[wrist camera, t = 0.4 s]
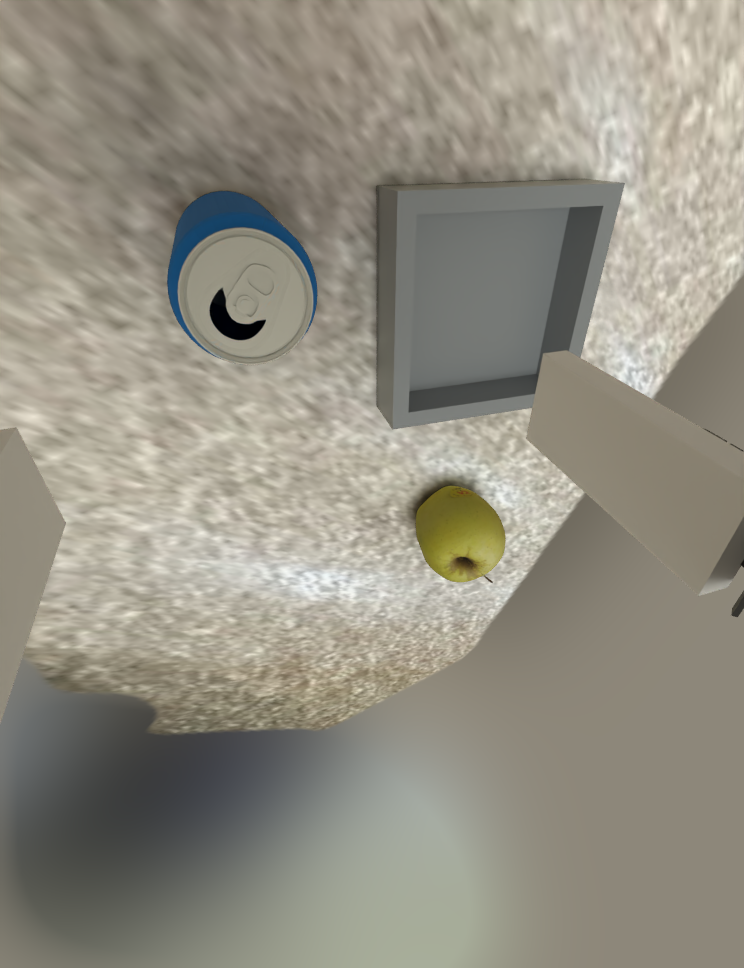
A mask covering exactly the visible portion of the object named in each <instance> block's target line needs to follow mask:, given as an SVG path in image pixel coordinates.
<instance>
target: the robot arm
mask: <svg viewBox="0 0 744 968" xmlns="http://www.w3.org/2000/svg"><path fill="white" fill-rule="evenodd" d="M526 439H527V440H528V441H529V442H530V443H532V444H533V445H534V446H535V447H536V448H537V449H538V450H539V451H540V452H541V453H543V454H544V455H545V456H546V457H547V458H548V459H549V460H550V461H551V462H552V463H553V464H555V465H556V466H557V467H558V468H559V469H560V470H561V471H562V472H563V473H564V474H566V475H567V476H568V477H569V478H570V479H571V480H572V481H573V482H574V483H575V484H577V485H578V486H579V487H580V488H581V489H582V490H583V491H584V492H585V493H586V494H587V495H589V496H590V497H591V498H592V499H593V500H594V501H595V502H596V503H597V504H598V505H600V506H601V507H602V508H603V509H604V510H605V511H606V512H607V513H609V515H611V516H612V517H613V518H614V519H615V520H616V521H617V522H618V523H619V524H620V525H622V526H623V527H624V528H625V529H626V530H627V531H628V532H629V533H630V534H631V535H632V536H634V537H635V538H636V539H637V540H638V541H639V542H640V543H641V544H642V545H643V546H644V547H646V548H647V549H648V550H649V551H650V552H651V553H652V554H653V555H654V556H655V557H656V558H658V559H659V560H660V561H661V562H662V563H663V564H664V565H665V566H666V567H668V568H669V569H670V570H671V571H672V572H673V573H674V574H675V575H676V576H677V577H678V578H680V579H681V580H682V581H683V582H684V583H685V584H686V585H687V586H688V587H689V588H691V589H692V590H693V591H694V592H695V593H696V594H697V595H698V596H699V595H703V594H706V593H710V592H713V591H716V590H720V589H723V588H727V587H728V586H729V585H730V583H731V581H732V580H733V578H734V576H735V575H736V573H737V571H738V570H739V568H740V567H741V566H743V567H744V452H743V450H741V449H740V448H738V447H736V446H734V445H733V444H729V443H727V441H726V440H723V439H722V438H720V437H719V436H717V435H715V434H713V433H712V432H710V431H708V430H706V429H703V428H701V427H699V426H697V425H696V424H694V423H692V422H691V421H689V420H687V419H685V418H684V417H682V416H680V415H678V414H677V413H675V412H673V411H671V410H670V409H668V408H666V407H665V406H663V405H661V404H659V403H658V402H656V401H654V400H652V399H651V398H649V397H647V396H645V395H644V394H642V393H640V392H639V391H637V390H635V389H633V388H632V387H630V386H628V385H626V384H625V383H623V382H621V381H619V380H618V379H616V378H614V377H613V376H611V375H609V374H607V373H606V372H604V371H602V370H600V369H599V368H597V367H595V366H593V365H592V364H590V363H588V362H587V361H585V360H583V359H581V358H580V357H578V356H576V355H574V354H573V353H571V352H569V351H567V350H565V351H558V352H551V353H543V357H542V362H541V367H540V372H539V377H538V382H537V387H536V392H535V397H534V402H533V407H532V412H531V417H530V422H529V427H528V432H527V437H526ZM65 524H66V522H65V520H64V518H63V516H62V514H61V513H60V511H59V509H58V507H57V505H56V503H55V501H54V499H53V497H52V495H51V493H50V491H49V489H48V487H47V485H46V484H45V482H44V480H43V478H42V476H41V474H40V472H39V470H38V468H37V466H36V464H35V462H34V460H33V458H32V456H31V455H30V453H29V451H28V449H27V447H26V445H25V443H24V441H23V439H22V437H21V435H20V433H19V431H18V429H17V428H10V429H2V430H0V723H1V720H2V717H3V714H4V711H5V708H6V705H7V702H8V699H9V696H10V693H11V690H12V686H13V684H14V680H15V677H16V674H17V671H18V668H19V665H20V662H21V659H22V656H23V653H24V650H25V647H26V644H27V641H28V638H29V635H30V632H31V628H32V625H33V622H34V619H35V616H36V613H37V610H38V607H39V604H40V601H41V598H42V595H43V592H44V589H45V586H46V583H47V580H48V576H49V573H50V570H51V567H52V564H53V561H54V558H55V555H56V552H57V549H58V546H59V543H60V540H61V537H62V534H63V531H64V528H65ZM743 608H744V591H743V592H742V594H741V596H740V597H739V599H738V600H737V602H736V603H735V605H734V607H733V608H732V616H735V617H738V616H739V614H740V613H741V611H742V610H743Z"/></svg>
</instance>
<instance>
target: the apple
mask: <svg viewBox="0 0 744 968" xmlns="http://www.w3.org/2000/svg"><path fill="white" fill-rule="evenodd" d="M416 534H417V539H418V542H419V545H420V547H421V550H422V553H423V555H424V558H425V560H426V562H427V563H428V565H429V566H430V567H431V568H432V569H433V570H434V571H435V572H436V573H438V574H439V575H441V576H442V577H444V578H445V579H447V580H450V581H453V582H467V581H471V580H474V579H476V578H479V577H481V576H484V575H485V574H487V573H488V572H489V571H491V570H492V569H493V568H494V567H495V566H496V565H497V564H498V562H499V561H500V559H501V558H502V556H503V553H504V549H505V531H504V528H503V525H502V522H501V520H500V518H499V516H498V514H497V513H496V512H495V510H494V509H493V508H492V507H491V506H490V505H489V504H488V503H487V502H486V501H485V500H484V499H483V498H481V497H480V496H479V495H477V494H476V493H474V492H473V491H471V490H468V489H465V488H462V487H458V486H446V487H443V488H441V489H440V490H438V491H437V492H435V493H434V494H433V495H431V496H430V497H429V498H428V499H427V500H426V501H425V502H424V503H423V504H422V505H421V506H420V507H419V509H418V511H417V515H416ZM484 577H485V578H486V579H487V580H489V581H490V582H491V583H493V582H492V581H491V580H490V579H488V578H487V577H486V576H484Z"/></svg>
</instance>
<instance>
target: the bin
mask: <svg viewBox="0 0 744 968" xmlns="http://www.w3.org/2000/svg"><path fill="white" fill-rule="evenodd" d="M624 184H625V183H619V182H609V181H599V180H589V179H571V180H539V181H508V182H477V183H445V184H414V185H383V186H377V407H378V409H379V410H380V412H381V413H382V415H383V416H384V417H385V419H386V420H387V422H388V423H389V425H390V426H391V428H392V429H398V428H405V427H411V426H417V425H424V424H430V423H437V422H443V421H450V420H456V419H463V418H469V417H476V416H482V415H488V414H495V413H501V412H508V411H514V410H521V409H527V408H532V407H533V402H534V397H535V392H536V387H537V382H538V377H539V372H540V367H541V362H542V357H543V353H551V352H558V351H565V350H567V351H569V352H571V353H573V354H574V355H576V356H578V357H581V353H582V349H583V345H584V341H585V337H586V333H587V329H588V325H589V322H590V318H591V314H592V310H593V306H594V302H595V298H596V294H597V290H598V286H599V282H600V278H601V274H602V270H603V267H604V263H605V259H606V255H607V251H608V247H609V243H610V239H611V235H612V231H613V227H614V223H615V219H616V216H617V212H618V208H619V204H620V200H621V196H622V192H623V188H624Z"/></svg>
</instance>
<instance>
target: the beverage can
mask: <svg viewBox="0 0 744 968" xmlns="http://www.w3.org/2000/svg"><path fill="white" fill-rule="evenodd" d="M167 284H168V294H169V299H170V303H171V306H172V309H173V312H174V314H175V316H176V318H177V320H178V322H179V324H180V325H181V327H182V328H183V330H184V331H185V332H186V334H187V335H188V336H189V337H190V338H191V339H192V340H193V341H194V342H195V343H196V344H197V345H198V346H200V347H201V348H202V349H204V350H205V351H206V352H208V353H210V354H212V355H213V356H215V357H218V358H220V359H223V360H226V361H228V362H232V363H235V364H241V365H259V364H264V363H268V362H271V361H274V360H276V359H278V358H280V357H282V356H284V355H285V354H287V353H288V352H290V351H291V350H292V349H293V348H294V347H295V346H296V345H297V344H298V343H299V342H300V340H301V339H302V338H303V337H304V335H305V334H306V332H307V331H308V329H309V327H310V325H311V323H312V320H313V317H314V314H315V310H316V305H317V283H316V277H315V273H314V270H313V267H312V264H311V262H310V260H309V257H308V255H307V254H306V252H305V250H304V249H303V247H302V246H301V245H300V243H299V242H298V241H297V239H296V238H295V237H294V236H293V235H292V234H291V233H290V232H289V231H288V230H287V229H286V228H285V227H284V226H283V225H281V224H280V223H279V222H278V221H277V220H276V219H275V218H274V217H273V216H272V215H271V214H270V213H269V212H268V211H267V210H266V209H265V208H264V207H263V206H262V205H260V204H259V203H258V202H256V201H255V200H253V199H252V198H250V197H247V196H245V195H243V194H240V193H236V192H230V191H218V192H212V193H209V194H206V195H204V196H202V197H200V198H198V199H197V200H195V201H194V202H192V203H191V204H190V205H189V206H188V207H187V209H186V210H185V211H184V213H183V214H182V216H181V218H180V220H179V222H178V225H177V228H176V233H175V239H174V244H173V249H172V254H171V259H170V264H169V269H168V280H167Z"/></svg>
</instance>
